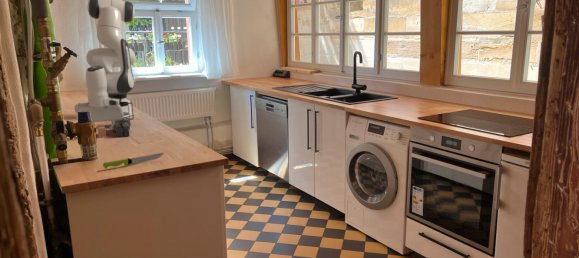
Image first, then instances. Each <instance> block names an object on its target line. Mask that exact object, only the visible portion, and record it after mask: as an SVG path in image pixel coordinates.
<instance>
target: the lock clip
mask: <svg viewBox="0 0 579 258" xmlns="http://www.w3.org/2000/svg"><path fill="white" fill-rule="evenodd" d="M97 132H98V133H97V134H98V138H99V139H104V138H103V137H105V138H106V137H107V135H106V126H105V123H102V124H101V123H100V124H97Z"/></svg>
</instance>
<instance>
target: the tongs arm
mask: <svg viewBox="0 0 579 258" xmlns="http://www.w3.org/2000/svg"><path fill="white" fill-rule="evenodd" d="M122 134H123V137H129V136H130V129H129V127H128V124H127V122H122Z"/></svg>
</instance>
